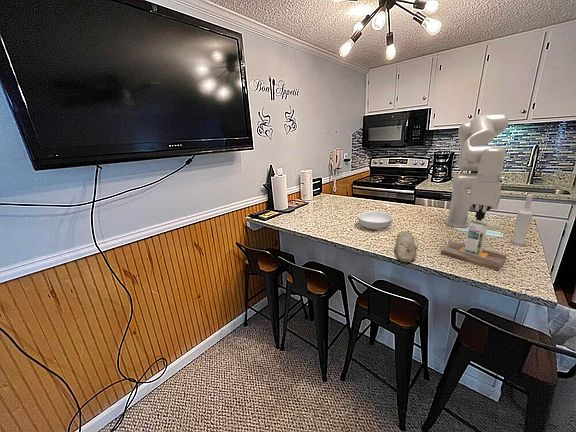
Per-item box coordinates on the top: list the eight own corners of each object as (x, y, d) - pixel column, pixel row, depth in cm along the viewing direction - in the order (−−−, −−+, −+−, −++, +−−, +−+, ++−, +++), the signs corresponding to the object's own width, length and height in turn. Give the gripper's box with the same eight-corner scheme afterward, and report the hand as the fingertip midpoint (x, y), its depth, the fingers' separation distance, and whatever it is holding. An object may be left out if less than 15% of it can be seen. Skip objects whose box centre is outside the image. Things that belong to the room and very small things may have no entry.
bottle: (510, 243, 125) (522, 196, 117) (511, 240, 128) (523, 193, 120) (523, 246, 121) (537, 197, 113) (524, 243, 124) (537, 195, 116)
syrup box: (463, 252, 114) (468, 223, 109) (467, 248, 117) (473, 219, 113) (478, 256, 110) (484, 226, 105) (482, 252, 113) (488, 222, 109)
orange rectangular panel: (462, 248, 119) (462, 246, 119) (487, 255, 112) (488, 253, 112) (457, 253, 115) (457, 251, 115) (483, 260, 108) (484, 258, 108)
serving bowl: (350, 225, 161) (350, 215, 159) (374, 218, 170) (374, 209, 168) (374, 235, 144) (375, 224, 142) (399, 227, 152) (400, 217, 150)
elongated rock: (414, 238, 140) (395, 237, 145) (415, 229, 139) (395, 228, 143) (418, 265, 110) (394, 262, 114) (419, 254, 108) (394, 252, 113)
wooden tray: (450, 246, 126) (451, 239, 125) (505, 260, 110) (507, 253, 108) (440, 254, 119) (441, 247, 118) (498, 271, 102) (500, 263, 101)
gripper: (513, 179, 99) (503, 221, 105) (469, 175, 110) (462, 214, 116) (509, 182, 95) (498, 226, 101) (463, 178, 106) (456, 218, 112)
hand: (479, 219), depth 109 cm, fingers closed
